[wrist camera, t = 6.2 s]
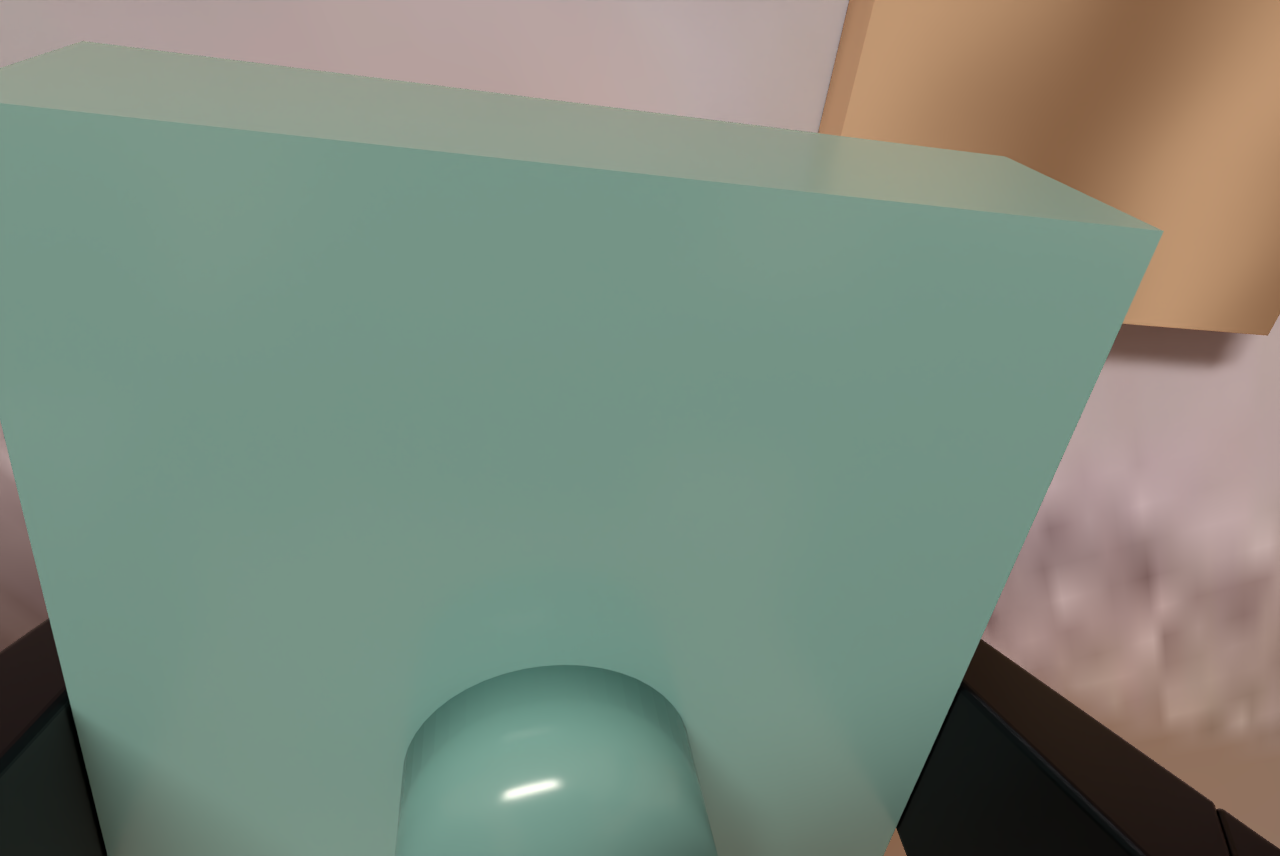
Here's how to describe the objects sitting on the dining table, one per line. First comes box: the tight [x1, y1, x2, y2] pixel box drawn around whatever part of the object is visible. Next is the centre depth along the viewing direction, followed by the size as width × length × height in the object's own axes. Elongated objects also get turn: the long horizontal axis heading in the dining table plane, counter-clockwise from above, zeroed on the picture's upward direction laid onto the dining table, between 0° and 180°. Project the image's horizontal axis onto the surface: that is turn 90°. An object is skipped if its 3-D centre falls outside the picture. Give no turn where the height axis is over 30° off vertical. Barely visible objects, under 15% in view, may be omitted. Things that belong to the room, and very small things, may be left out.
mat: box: [818, 0, 1280, 335], centre depth 15 cm, size 10×10×1 cm
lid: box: [0, 41, 1164, 856], centre depth 8 cm, size 7×10×3 cm
